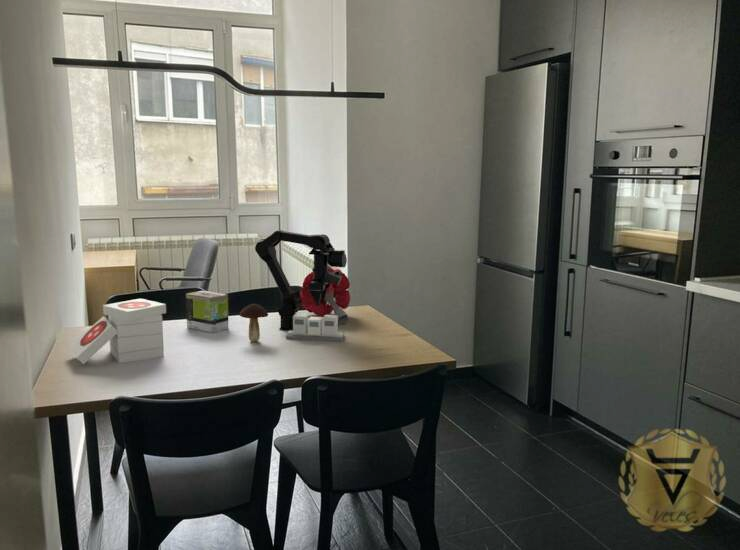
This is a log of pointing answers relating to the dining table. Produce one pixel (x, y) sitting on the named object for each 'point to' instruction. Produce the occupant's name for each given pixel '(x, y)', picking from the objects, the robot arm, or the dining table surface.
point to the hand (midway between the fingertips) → (320, 303)
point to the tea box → (207, 311)
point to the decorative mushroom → (253, 319)
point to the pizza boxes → (125, 332)
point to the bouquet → (328, 298)
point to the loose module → (315, 325)
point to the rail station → (327, 335)
